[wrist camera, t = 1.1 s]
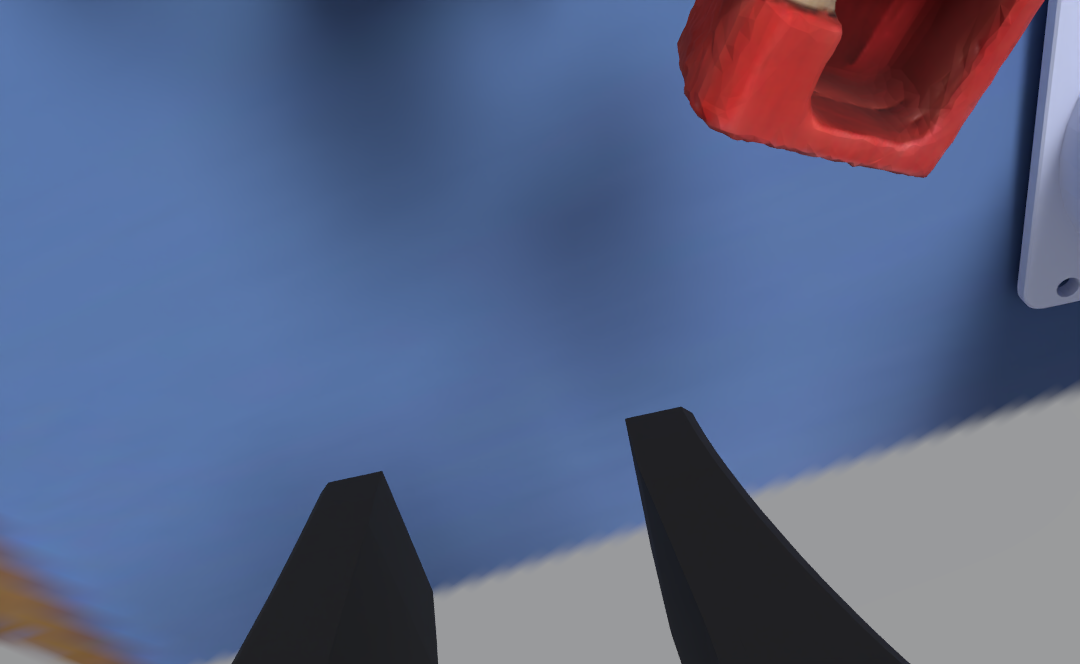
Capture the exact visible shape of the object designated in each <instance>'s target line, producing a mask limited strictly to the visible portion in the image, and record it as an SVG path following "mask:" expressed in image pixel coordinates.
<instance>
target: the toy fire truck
mask: <svg viewBox="0 0 1080 664" xmlns="http://www.w3.org/2000/svg"><path fill="white" fill-rule="evenodd" d="M1044 1H1045V0H696V1H695V4H694V6H693V8H692V9H691V11H690V14H689V17H688V21H687V24H686V26H685V28H684V30H683V32H682V34H681V36H680V38H679V41H678V43H677V45H678V53H679V66H680V70H681V72H682V75H683V77H684V82H685V87H684V94H685V95H686V97H687V98H688V100H689V101H690V105H691V107H692V108H693V110H694V112H695V113H696V114H697V116H698V117H700V118H701V119H703V120H704V121H705V123H706V124H707V125H708V127H709V128H711V129H713V130H715V131H717V132H720V133H723V134H725V135H727V136H728V137H730V138H732V139H734V140H743V141H746V142H757V143H762V144H765V145H767V146H769V147H773V148H777V149H785V150H788V151H793V152H797V153H799V154H803V155H807V156H811V157H821V158H824V159H827V160H831V161H834V162H847V163H848V164H850V165H851V166H852V167H855V166H863V167H868V168H874V169H880V170H885V171H889V172H892V173H896V174H904V175H907V176H915V177H922V178H924V177H927V176H928V174H929V173H930V172H931V171H932V170H933V168H934V167H935V166H936V164H937V163H938V161H939V160H940V158H941V157H942V155H943V154H944V152H945V151H946V150H947V148H948V147H949V146H950V145H951V143H952V142H953V141H954V139H955V137H956V135H957V134H958V132H959V130H960V128H961V126H962V125H963V123H964V122H965V121H966V119H967V118H968V116H969V115H970V113H971V112H972V110H973V109H974V107H975V106H976V104H977V102H978V101H979V99H980V98H981V96H982V94H983V93H984V92H985V90H986V89H987V88H988V87H989V85H990V84H991V82H992V81H993V79H994V77H995V75H996V73H997V72H998V70H999V68H1000V67H1001V65H1002V64H1003V63H1004V61H1005V60H1006V58H1007V57H1008V55H1009V54H1010V52H1011V51H1012V50H1013V48H1014V47H1015V45H1016V44H1017V42H1018V41H1019V39H1020V37H1021V36H1022V34H1023V33H1024V31H1025V30H1026V28H1027V26H1028V25H1029V23H1030V22H1031V20H1032V19H1033V17H1034V15H1035V14H1036V12H1037V11H1038V9H1039V8H1040V6H1041V5H1042V4H1043V2H1044Z"/></svg>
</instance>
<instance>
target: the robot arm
mask: <svg viewBox="0 0 1080 664" xmlns="http://www.w3.org/2000/svg"><path fill="white" fill-rule="evenodd" d="M1068 278H1069V281H1068V282H1067V283H1066V284H1065V285H1063V286H1061V287H1058V285H1059V284H1060V283H1061V282H1062V281H1063V280H1066V279H1068ZM1017 291H1018V296H1019V297H1020V298H1021V299H1022V300H1023V301H1024V302H1025V303H1026V305H1027V306H1028V307H1031V308H1034V309H1043V308H1048V307H1052V306H1057V305H1062V304H1067V303H1071V302H1076V301H1080V0H1049V2H1048V11H1047V21H1046V30H1045V39H1044V48H1043V57H1042V66H1041V75H1040V84H1039V94H1038V103H1037V112H1036V121H1035V130H1034V139H1033V148H1032V157H1031V166H1030V176H1029V185H1028V194H1027V203H1026V212H1025V221H1024V230H1023V239H1022V249H1021V258H1020V267H1019V276H1018V285H1017ZM625 421H626V426H627V431H628V436H629V441H630V446H631V451H632V456H633V461H634V466H635V471H636V476H637V481H638V485H639V490H640V495H641V500H642V505H643V510H644V515H645V520H646V525H647V530H648V535H649V540H650V545H651V550H652V554H653V558H654V562H655V566H656V571H657V575H658V579H659V584H660V588H661V591H662V596H663V601H664V604H665V609H666V613H667V617H668V622H669V626H670V630H671V633H672V637H673V640H674V642H675V645H676V648H677V651H678V654H679V657H680V660H681V663H682V664H910V663H909V662H907V661H906V660H905V659H904V658H903V657H902V656H901V655H900V654H899V653H898V652H896V651H895V650H894V649H893V648H892V647H891V646H890V645H889V644H888V643H887V642H886V641H885V640H884V639H882V638H881V637H880V636H879V635H878V634H877V633H876V632H875V631H874V630H873V629H872V628H871V627H870V626H869V625H868V624H867V623H866V622H865V621H864V620H863V619H862V618H861V617H860V616H859V615H858V614H856V612H855V611H854V610H853V609H852V608H851V607H850V606H849V605H848V604H847V603H846V602H845V601H844V600H843V599H842V598H841V597H840V596H839V595H838V594H837V593H836V592H835V591H834V590H833V589H832V588H831V587H830V586H829V585H828V584H827V583H826V582H825V581H824V580H823V579H822V578H821V577H820V576H819V574H818V573H817V572H816V571H815V570H814V569H813V568H812V567H811V566H810V565H809V564H808V563H807V562H806V561H805V560H804V558H803V557H802V556H801V555H800V554H799V553H798V552H797V551H796V549H795V548H794V547H793V546H792V545H791V544H790V543H789V541H788V540H787V539H786V538H785V537H784V536H783V535H782V533H780V531H779V530H778V529H777V528H776V527H775V525H774V524H773V523H772V522H771V521H770V520H769V519H768V517H767V516H766V515H765V514H764V513H763V512H762V510H760V508H759V507H758V506H757V504H756V503H755V502H754V501H753V499H752V498H751V497H750V496H749V495H748V493H747V492H746V491H745V489H744V488H743V487H742V486H741V484H740V483H739V482H738V480H737V479H736V478H735V476H734V475H733V474H732V472H731V471H730V470H729V469H728V467H727V466H726V464H725V463H724V462H723V460H722V459H721V458H720V456H719V455H718V453H717V452H716V450H715V449H714V448H713V446H712V445H711V443H710V442H709V440H708V439H707V437H706V435H705V434H704V432H703V431H702V429H701V427H700V426H699V424H698V422H697V421H696V419H695V417H694V415H693V413H691V412H690V411H688V410H686V409H684V408H683V407H677V408H673V409H668V410H664V411H659V412H654V413H650V414H645V415H640V416H636V417H631V418H626V419H625ZM434 614H435V613H434V600H433V591H432V588H431V586H430V584H429V581H428V579H427V577H426V574H425V572H424V569H423V567H422V565H421V562H420V560H419V557H418V555H417V553H416V550H415V548H414V546H413V543H412V541H411V538H410V536H409V534H408V531H407V529H406V527H405V524H404V522H403V519H402V517H401V515H400V512H399V510H398V507H397V505H396V503H395V500H394V498H393V496H392V493H391V491H390V488H389V486H388V484H387V481H386V479H385V476H384V474H383V472H382V471H380V472H375V473H371V474H366V475H362V476H357V477H352V478H348V479H343V480H338V481H334V482H329V483H328V484H327V485H326V487H325V488H324V490H323V491H322V492H321V494H320V496H319V498H318V500H317V502H316V504H315V506H314V508H313V510H312V512H311V515H310V517H309V519H308V521H307V523H306V525H305V527H304V529H303V531H302V533H301V535H300V537H299V539H298V541H297V543H296V545H295V547H294V549H293V551H292V553H291V555H290V557H289V559H288V560H287V562H286V564H285V566H284V568H283V570H282V572H281V574H280V576H279V578H278V580H277V582H276V584H275V586H274V588H273V589H272V591H271V593H270V595H269V597H268V599H267V601H266V603H265V604H264V606H263V608H262V610H261V612H260V613H259V615H258V617H257V619H256V621H255V623H254V624H253V626H252V628H251V630H250V632H249V634H248V635H247V637H246V639H245V641H244V643H243V644H242V646H241V648H240V650H239V652H238V654H237V655H236V657H235V659H234V661H233V662H232V664H438V656H437V639H436V626H435V615H434Z"/></svg>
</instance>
